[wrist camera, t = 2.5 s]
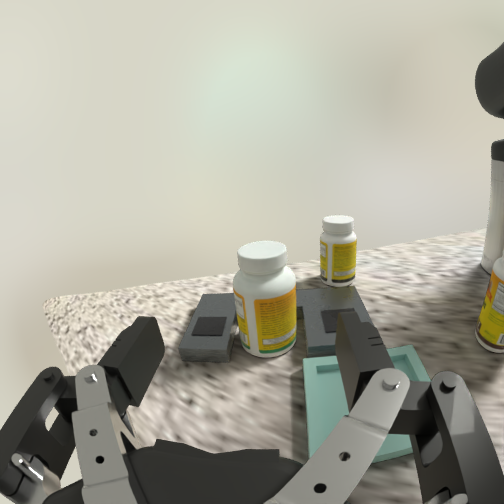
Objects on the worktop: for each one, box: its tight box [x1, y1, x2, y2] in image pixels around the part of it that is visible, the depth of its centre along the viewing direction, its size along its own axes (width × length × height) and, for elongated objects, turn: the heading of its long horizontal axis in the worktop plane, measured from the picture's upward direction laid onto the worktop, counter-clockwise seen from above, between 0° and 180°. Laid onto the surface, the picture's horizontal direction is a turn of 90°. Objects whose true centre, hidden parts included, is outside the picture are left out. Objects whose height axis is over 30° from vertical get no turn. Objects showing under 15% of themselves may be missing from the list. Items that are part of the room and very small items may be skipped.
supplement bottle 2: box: [320, 215, 357, 287], centre depth 34 cm, size 5×5×8 cm
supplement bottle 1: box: [233, 241, 296, 357], centre depth 24 cm, size 5×5×10 cm
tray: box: [303, 345, 431, 463], centre depth 16 cm, size 10×10×1 cm
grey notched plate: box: [178, 286, 374, 362], centre depth 27 cm, size 18×10×2 cm, turn 85°
